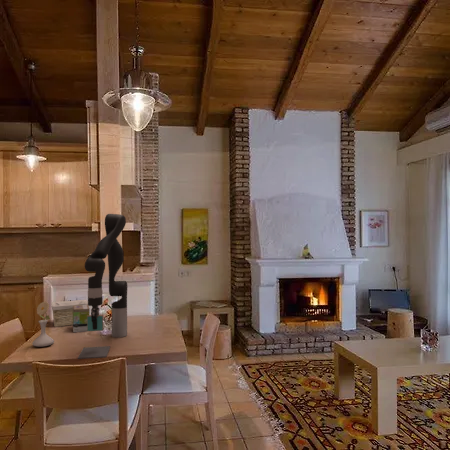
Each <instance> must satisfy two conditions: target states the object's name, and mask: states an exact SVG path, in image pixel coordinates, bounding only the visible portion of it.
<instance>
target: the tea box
mask: <svg viewBox="0 0 450 450" xmlns="http://www.w3.org/2000/svg"><path fill="white" fill-rule="evenodd" d="M88 315H91V309H90V306H88V305H77V306H73V325H72V332H73V333H85V332H88V331H87V316H88Z"/></svg>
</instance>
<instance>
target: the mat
mask: <svg viewBox="0 0 450 450" xmlns="http://www.w3.org/2000/svg"><path fill="white" fill-rule="evenodd" d="M110 348H111V346H110V345H108V346H107V345H105V346H90V347H89V346H85V347H83V348H82V349H81V352H80V353H79V354H78V357H77V360H81V359H98V358H99V359H102V358H107V357H108V355H109V351H110Z"/></svg>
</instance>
